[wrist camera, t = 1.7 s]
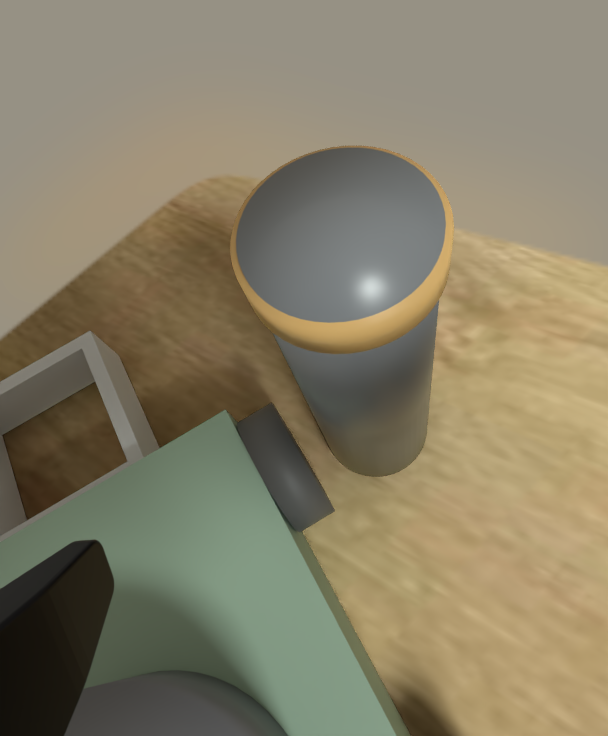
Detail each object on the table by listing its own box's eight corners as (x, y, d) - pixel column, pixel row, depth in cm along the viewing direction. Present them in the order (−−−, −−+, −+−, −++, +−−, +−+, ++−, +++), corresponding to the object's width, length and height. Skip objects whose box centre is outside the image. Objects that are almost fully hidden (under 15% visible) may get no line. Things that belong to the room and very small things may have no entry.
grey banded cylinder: (443, 468, 20) (484, 296, 9) (332, 490, 21) (240, 351, 10) (415, 366, 22) (421, 119, 11) (313, 388, 23) (219, 172, 11)
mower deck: (593, 958, 15) (716, 1191, 9) (30, 1344, 14) (-256, 1900, 8) (214, 300, 25) (156, 207, 20) (-115, 489, 24) (-280, 451, 19)
